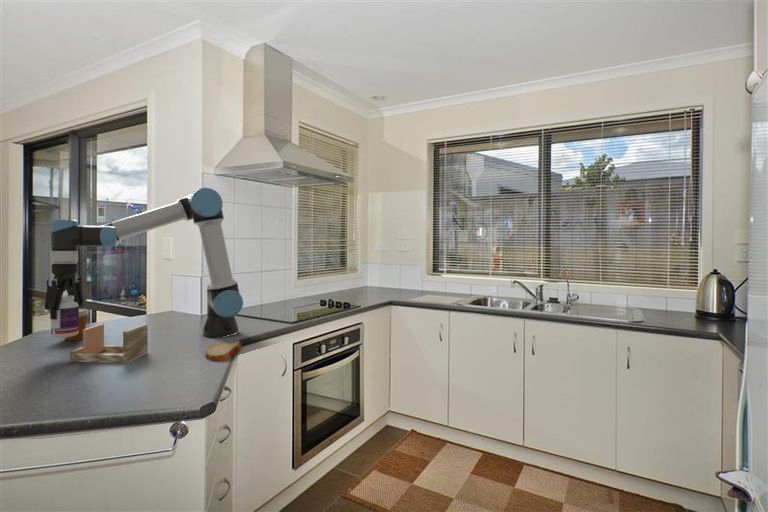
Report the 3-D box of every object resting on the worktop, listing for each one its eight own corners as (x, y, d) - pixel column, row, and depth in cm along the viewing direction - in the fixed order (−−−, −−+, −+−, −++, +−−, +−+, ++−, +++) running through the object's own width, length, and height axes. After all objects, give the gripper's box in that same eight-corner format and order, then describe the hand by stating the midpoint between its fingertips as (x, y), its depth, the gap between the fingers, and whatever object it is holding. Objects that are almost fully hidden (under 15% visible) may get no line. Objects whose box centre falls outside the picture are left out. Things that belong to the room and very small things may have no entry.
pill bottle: (84, 334, 155) (84, 295, 154) (63, 339, 147) (63, 298, 146) (66, 332, 156) (66, 294, 156) (44, 337, 148) (44, 297, 148)
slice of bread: (217, 363, 148) (217, 353, 148) (190, 354, 159) (190, 344, 159) (259, 353, 163) (259, 343, 163) (232, 345, 173) (232, 336, 173)
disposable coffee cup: (94, 337, 180) (93, 309, 179) (71, 342, 171) (70, 313, 170) (78, 335, 183) (78, 307, 182) (54, 340, 174) (54, 311, 173)
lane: (147, 353, 158) (147, 324, 158) (127, 362, 146) (127, 331, 145) (94, 351, 158) (94, 322, 158) (69, 361, 146) (69, 330, 145)
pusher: (104, 350, 156) (103, 324, 156) (86, 357, 147) (86, 329, 147) (100, 350, 156) (100, 324, 156) (83, 357, 147) (82, 329, 147)
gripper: (75, 260, 161) (75, 319, 162) (29, 264, 140) (30, 331, 141) (95, 261, 161) (95, 320, 162) (52, 264, 140) (52, 332, 141)
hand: (65, 325), depth 151 cm, fingers closed on pill bottle, 8 cm apart
